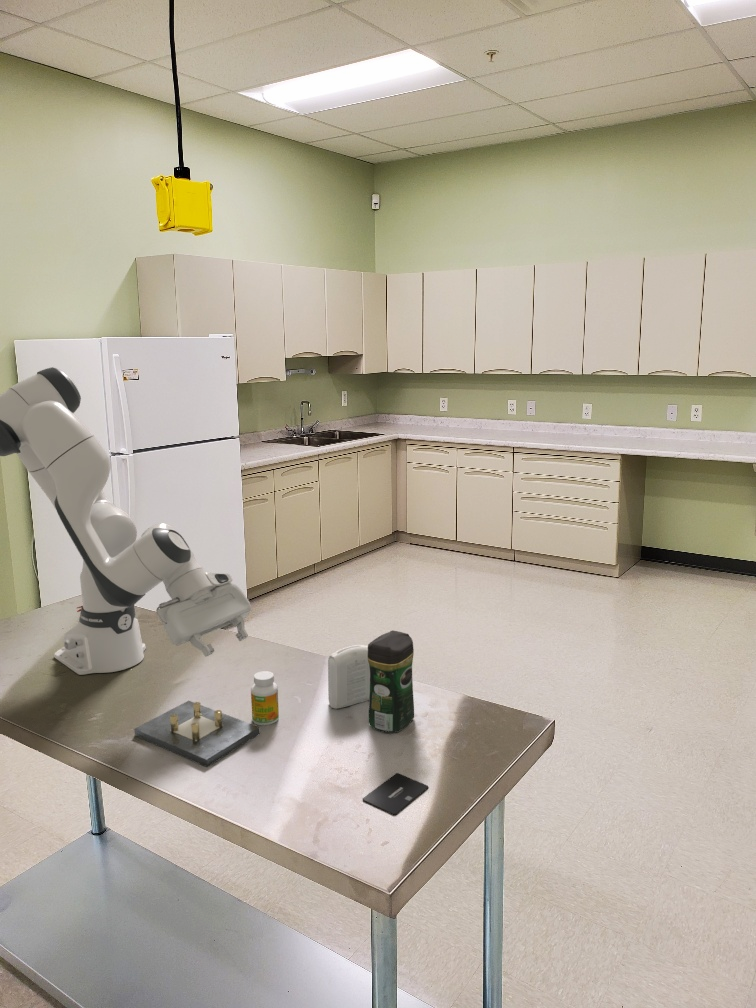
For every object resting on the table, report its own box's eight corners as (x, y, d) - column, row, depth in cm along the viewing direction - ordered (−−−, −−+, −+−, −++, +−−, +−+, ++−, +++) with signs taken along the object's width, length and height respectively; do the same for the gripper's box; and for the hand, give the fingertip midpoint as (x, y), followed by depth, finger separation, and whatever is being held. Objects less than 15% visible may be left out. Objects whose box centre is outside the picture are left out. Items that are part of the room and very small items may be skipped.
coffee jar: (386, 707, 161) (386, 624, 157) (419, 717, 157) (420, 632, 153) (361, 728, 153) (360, 640, 149) (395, 738, 149) (395, 649, 145)
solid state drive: (429, 789, 133) (429, 786, 133) (394, 818, 125) (394, 814, 125) (396, 775, 137) (396, 772, 137) (361, 802, 130) (361, 799, 129)
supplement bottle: (252, 727, 154) (250, 682, 151) (252, 714, 159) (250, 670, 157) (279, 724, 154) (277, 680, 152) (278, 712, 160) (276, 668, 157)
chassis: (134, 735, 151) (133, 714, 150) (189, 707, 162) (187, 687, 161) (206, 767, 140) (205, 744, 139) (259, 734, 151) (258, 713, 150)
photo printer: (366, 691, 169) (365, 638, 166) (377, 698, 165) (376, 645, 162) (325, 703, 163) (324, 649, 160) (335, 711, 159) (334, 656, 157)
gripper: (158, 598, 152) (195, 656, 148) (234, 571, 168) (269, 623, 164) (146, 614, 155) (181, 671, 152) (221, 587, 171) (255, 638, 168)
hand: (227, 646), depth 158 cm, fingers open, 8 cm apart
